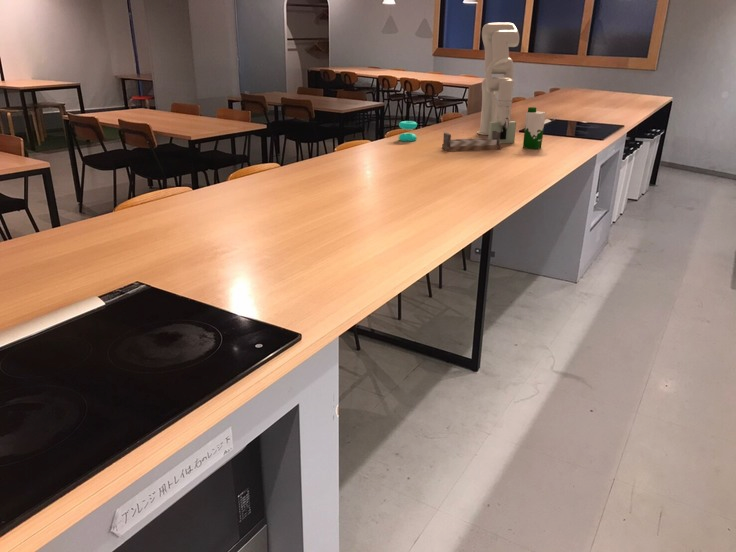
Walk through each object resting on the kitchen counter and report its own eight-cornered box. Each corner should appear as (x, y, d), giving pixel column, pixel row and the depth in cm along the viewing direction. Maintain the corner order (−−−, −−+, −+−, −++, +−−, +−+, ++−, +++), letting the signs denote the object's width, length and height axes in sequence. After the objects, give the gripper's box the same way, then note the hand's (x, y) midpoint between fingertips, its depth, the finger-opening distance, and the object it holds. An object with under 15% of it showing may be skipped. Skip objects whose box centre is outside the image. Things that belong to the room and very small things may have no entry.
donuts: (398, 123, 314) (399, 120, 324) (398, 141, 318) (399, 138, 328) (417, 123, 314) (417, 120, 323) (416, 142, 317) (416, 138, 327)
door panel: (489, 143, 313) (491, 122, 309) (487, 142, 316) (489, 121, 311) (514, 142, 315) (516, 121, 311) (512, 141, 318) (513, 121, 314)
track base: (448, 151, 293) (448, 135, 290) (442, 147, 302) (442, 132, 299) (500, 149, 298) (501, 133, 295) (492, 145, 307) (494, 130, 304)
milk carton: (527, 145, 308) (531, 106, 300) (543, 147, 303) (548, 107, 295) (520, 148, 301) (524, 108, 293) (537, 150, 296) (541, 109, 288)
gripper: (491, 102, 314) (489, 136, 321) (504, 105, 299) (500, 141, 307) (504, 101, 315) (501, 136, 323) (517, 105, 301) (514, 141, 308)
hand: (501, 138), depth 314 cm, fingers closed on door panel, 3 cm apart
